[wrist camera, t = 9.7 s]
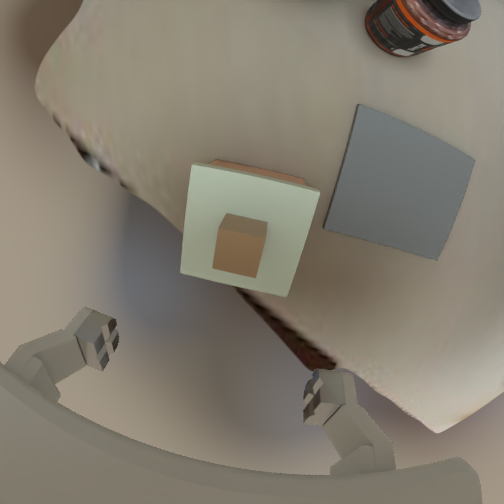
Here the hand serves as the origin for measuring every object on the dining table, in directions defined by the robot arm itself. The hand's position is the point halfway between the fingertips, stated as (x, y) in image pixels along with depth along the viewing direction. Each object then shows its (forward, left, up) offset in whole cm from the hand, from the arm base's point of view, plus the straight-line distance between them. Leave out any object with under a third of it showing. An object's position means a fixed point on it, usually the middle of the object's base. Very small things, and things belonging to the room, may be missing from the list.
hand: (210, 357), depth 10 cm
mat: (-14, -6, -18) cm, 23 cm away
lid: (0, 0, -13) cm, 13 cm away
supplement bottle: (-9, -21, -18) cm, 29 cm away
